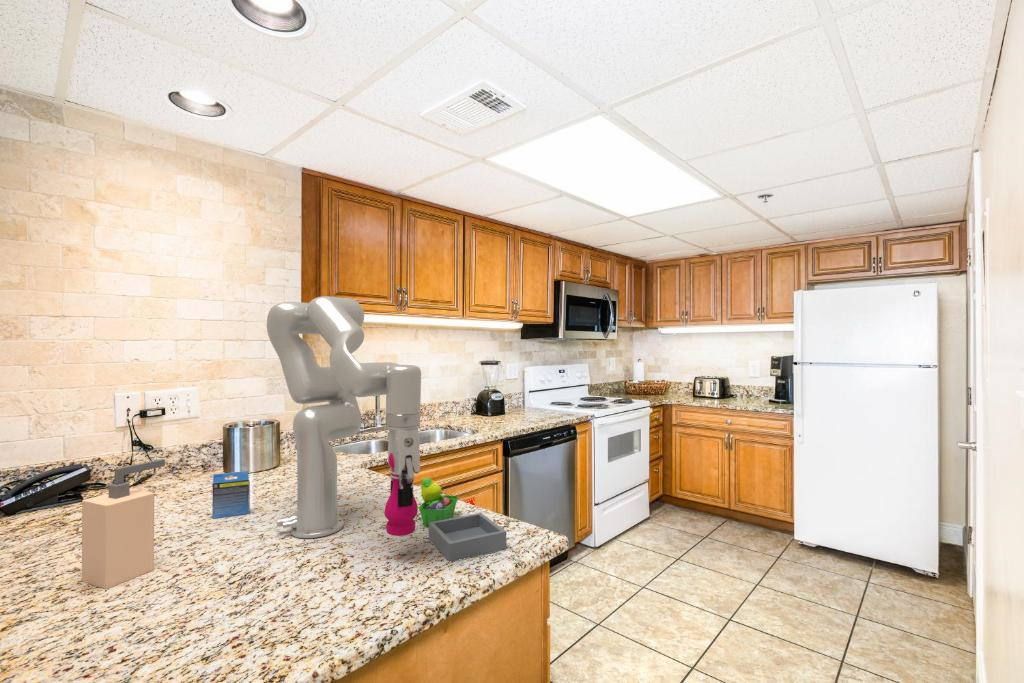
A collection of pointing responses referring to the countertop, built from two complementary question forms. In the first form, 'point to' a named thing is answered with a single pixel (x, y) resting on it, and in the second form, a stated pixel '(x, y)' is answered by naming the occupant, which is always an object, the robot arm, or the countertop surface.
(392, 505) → the pepper mill
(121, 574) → the soap dispenser
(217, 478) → the label tape box
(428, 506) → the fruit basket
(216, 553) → the countertop surface
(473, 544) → the tray
